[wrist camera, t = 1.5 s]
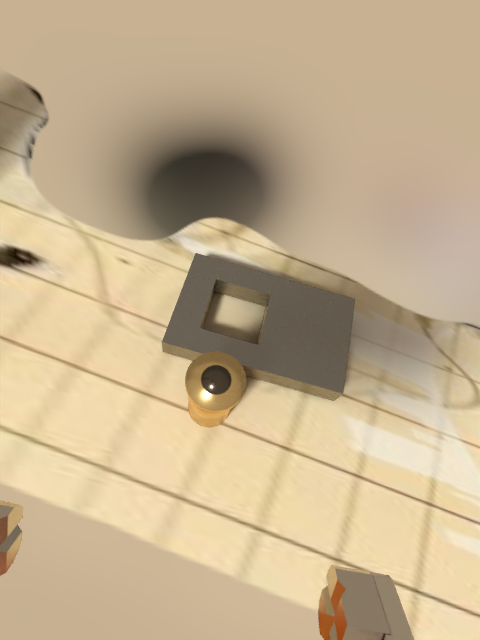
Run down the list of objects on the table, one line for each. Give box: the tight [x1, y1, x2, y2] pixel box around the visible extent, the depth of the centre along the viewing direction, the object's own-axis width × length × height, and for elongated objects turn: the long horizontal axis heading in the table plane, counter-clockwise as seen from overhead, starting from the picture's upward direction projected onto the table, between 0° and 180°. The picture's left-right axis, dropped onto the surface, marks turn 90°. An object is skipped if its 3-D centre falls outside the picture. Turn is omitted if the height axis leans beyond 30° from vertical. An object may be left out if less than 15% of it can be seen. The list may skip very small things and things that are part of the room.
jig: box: [162, 253, 355, 401], centre depth 42 cm, size 18×11×2 cm, turn 76°
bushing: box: [185, 351, 246, 427], centre depth 35 cm, size 5×5×8 cm
